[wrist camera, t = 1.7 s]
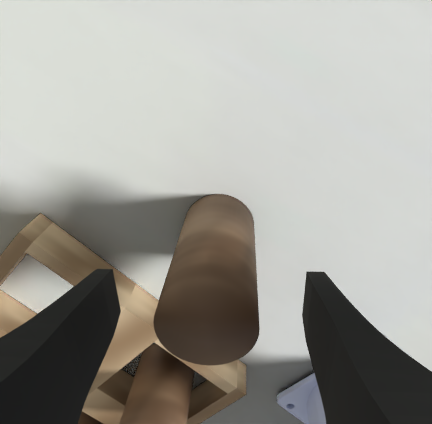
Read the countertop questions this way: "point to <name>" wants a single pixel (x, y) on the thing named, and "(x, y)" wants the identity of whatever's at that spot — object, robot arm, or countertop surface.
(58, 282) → the countertop surface
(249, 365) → the countertop surface
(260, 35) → the countertop surface
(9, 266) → the stool seat
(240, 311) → the loose leg
